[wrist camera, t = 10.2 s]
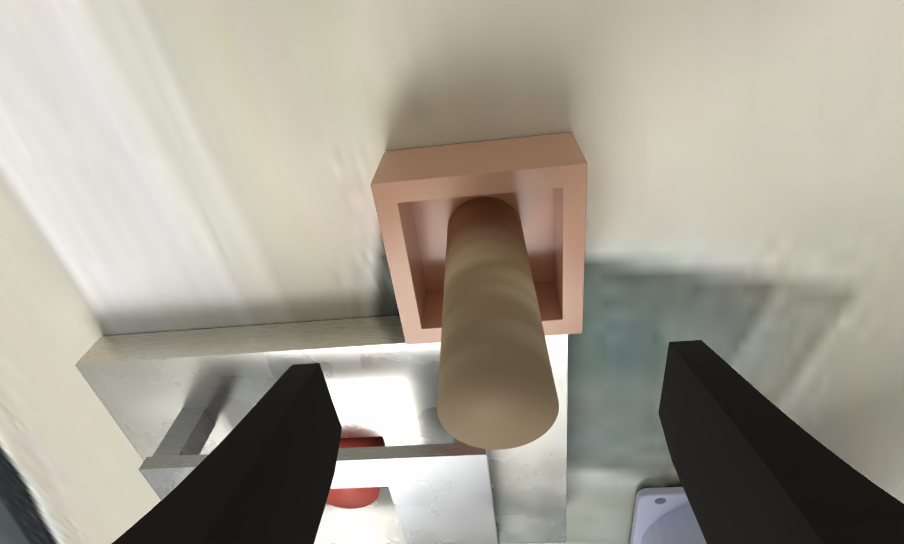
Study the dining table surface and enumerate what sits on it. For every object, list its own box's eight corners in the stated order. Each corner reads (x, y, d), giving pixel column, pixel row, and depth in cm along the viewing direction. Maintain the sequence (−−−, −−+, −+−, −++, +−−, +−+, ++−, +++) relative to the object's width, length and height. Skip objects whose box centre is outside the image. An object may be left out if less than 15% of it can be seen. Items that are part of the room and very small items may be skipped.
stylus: (522, 195, 16) (562, 363, 9) (521, 261, 17) (556, 448, 11) (444, 198, 16) (432, 367, 9) (449, 264, 17) (441, 450, 11)
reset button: (381, 414, 22) (372, 465, 19) (393, 456, 23) (385, 507, 21) (318, 417, 22) (301, 468, 20) (334, 458, 23) (320, 509, 21)
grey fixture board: (560, 303, 18) (582, 395, 15) (561, 510, 25) (575, 607, 22) (101, 336, 20) (17, 425, 16) (221, 521, 27) (181, 612, 23)
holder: (571, 132, 15) (586, 163, 13) (569, 287, 18) (582, 333, 16) (385, 150, 15) (370, 184, 13) (413, 298, 18) (406, 344, 16)
